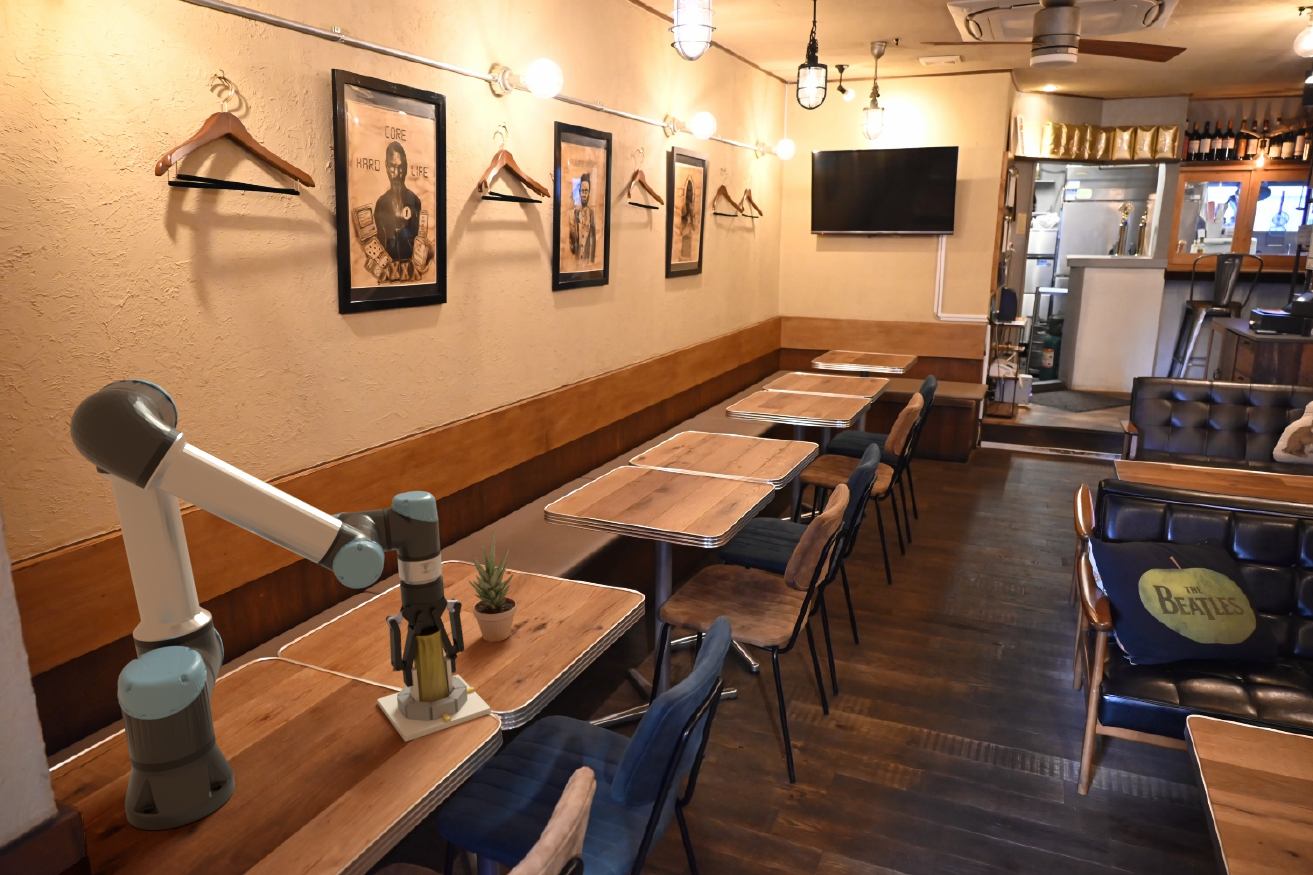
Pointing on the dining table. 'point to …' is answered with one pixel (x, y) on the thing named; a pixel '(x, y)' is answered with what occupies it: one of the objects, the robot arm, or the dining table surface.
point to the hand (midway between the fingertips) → (431, 694)
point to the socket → (432, 710)
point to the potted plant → (493, 599)
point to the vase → (430, 666)
